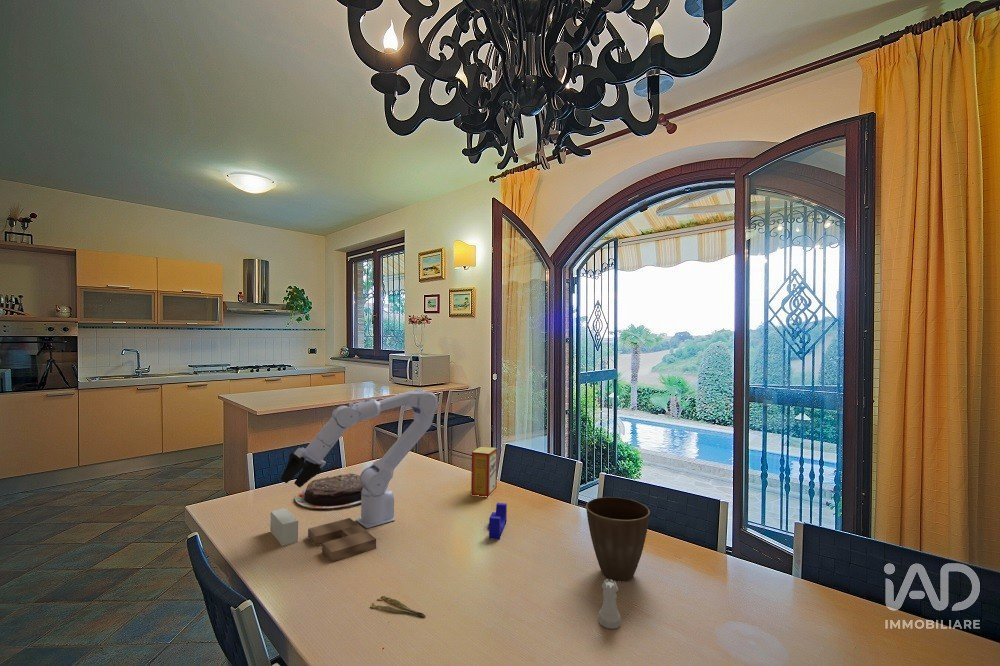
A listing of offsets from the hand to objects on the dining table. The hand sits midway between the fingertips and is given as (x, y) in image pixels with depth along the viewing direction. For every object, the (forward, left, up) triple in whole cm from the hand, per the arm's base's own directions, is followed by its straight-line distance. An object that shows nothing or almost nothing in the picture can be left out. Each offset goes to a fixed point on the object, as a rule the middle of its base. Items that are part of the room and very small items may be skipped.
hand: (290, 483), depth 124 cm
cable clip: (-49, +32, -16) cm, 60 cm away
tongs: (-9, +49, -16) cm, 52 cm away
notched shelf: (-10, +11, -15) cm, 22 cm away
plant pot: (-55, +69, -16) cm, 90 cm away
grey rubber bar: (+1, -3, -16) cm, 16 cm away
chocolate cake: (-23, -26, -16) cm, 38 cm away
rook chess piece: (-38, +79, -16) cm, 89 cm away
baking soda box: (-66, +4, -16) cm, 68 cm away
